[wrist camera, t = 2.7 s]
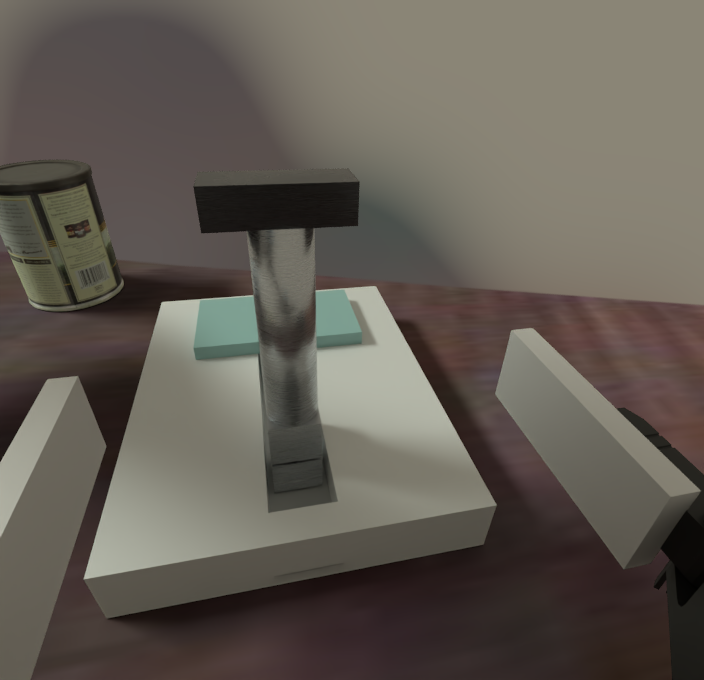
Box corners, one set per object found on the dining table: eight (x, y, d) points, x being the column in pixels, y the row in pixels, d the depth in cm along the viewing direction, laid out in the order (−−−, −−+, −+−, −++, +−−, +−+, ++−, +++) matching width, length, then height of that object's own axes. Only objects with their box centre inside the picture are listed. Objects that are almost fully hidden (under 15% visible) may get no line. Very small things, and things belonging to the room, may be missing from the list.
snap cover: (195, 359, 37) (193, 348, 36) (202, 311, 43) (200, 300, 42) (361, 343, 39) (362, 332, 39) (344, 299, 46) (344, 289, 45)
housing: (106, 618, 24) (83, 579, 22) (169, 335, 47) (161, 302, 44) (483, 544, 28) (496, 505, 26) (373, 317, 51) (375, 286, 48)
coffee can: (64, 270, 59) (23, 156, 51) (139, 275, 58) (109, 161, 50) (6, 309, 50) (-55, 180, 42) (93, 316, 49) (48, 186, 42)
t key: (245, 496, 29) (192, 189, 18) (244, 459, 32) (198, 169, 21) (350, 480, 30) (361, 184, 19) (341, 445, 33) (346, 166, 22)
